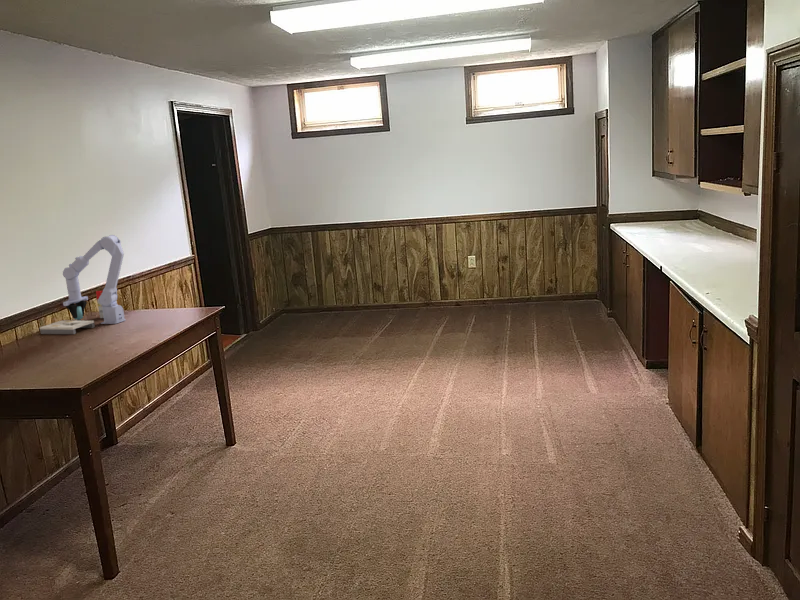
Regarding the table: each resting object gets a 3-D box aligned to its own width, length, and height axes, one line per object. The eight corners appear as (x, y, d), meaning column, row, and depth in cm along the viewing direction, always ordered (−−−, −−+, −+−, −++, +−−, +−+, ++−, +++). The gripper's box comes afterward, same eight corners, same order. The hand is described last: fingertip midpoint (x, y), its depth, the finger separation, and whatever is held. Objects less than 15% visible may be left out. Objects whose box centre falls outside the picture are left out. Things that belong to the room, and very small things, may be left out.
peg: (86, 324, 349) (83, 306, 347) (80, 326, 345) (77, 307, 343) (79, 324, 350) (76, 306, 348) (73, 326, 346) (70, 307, 344)
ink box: (119, 315, 365) (115, 288, 362) (114, 317, 360) (110, 290, 357) (104, 316, 366) (100, 289, 363) (99, 318, 361) (95, 291, 358)
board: (94, 327, 339) (93, 320, 339) (73, 334, 326) (72, 327, 326) (62, 326, 346) (61, 320, 345) (40, 333, 333) (39, 327, 332)
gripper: (78, 287, 352) (82, 313, 354) (56, 293, 338) (61, 320, 341) (89, 287, 350) (93, 313, 352) (67, 293, 336) (72, 320, 339)
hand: (78, 316), depth 346 cm, fingers closed on peg, 4 cm apart
